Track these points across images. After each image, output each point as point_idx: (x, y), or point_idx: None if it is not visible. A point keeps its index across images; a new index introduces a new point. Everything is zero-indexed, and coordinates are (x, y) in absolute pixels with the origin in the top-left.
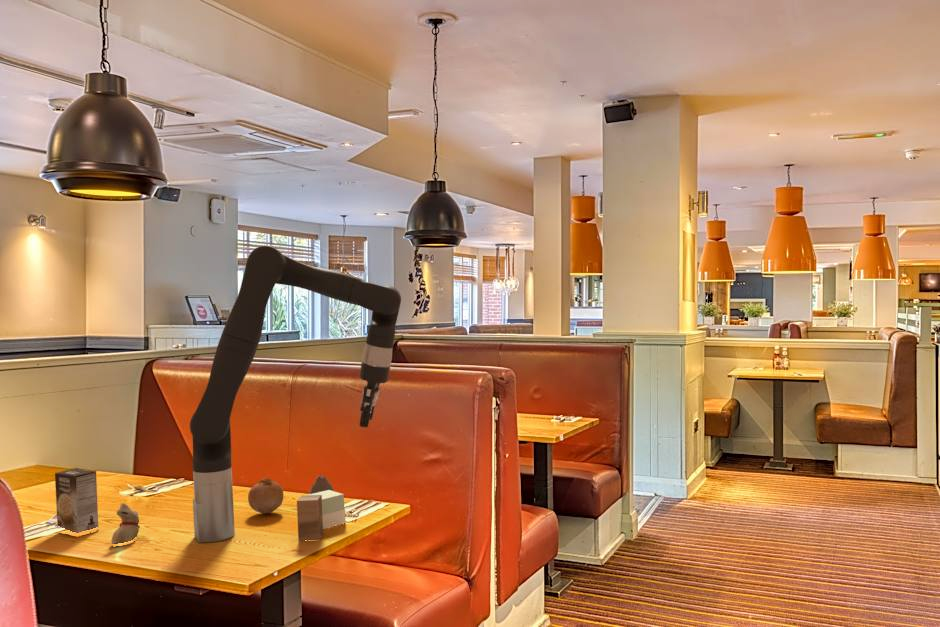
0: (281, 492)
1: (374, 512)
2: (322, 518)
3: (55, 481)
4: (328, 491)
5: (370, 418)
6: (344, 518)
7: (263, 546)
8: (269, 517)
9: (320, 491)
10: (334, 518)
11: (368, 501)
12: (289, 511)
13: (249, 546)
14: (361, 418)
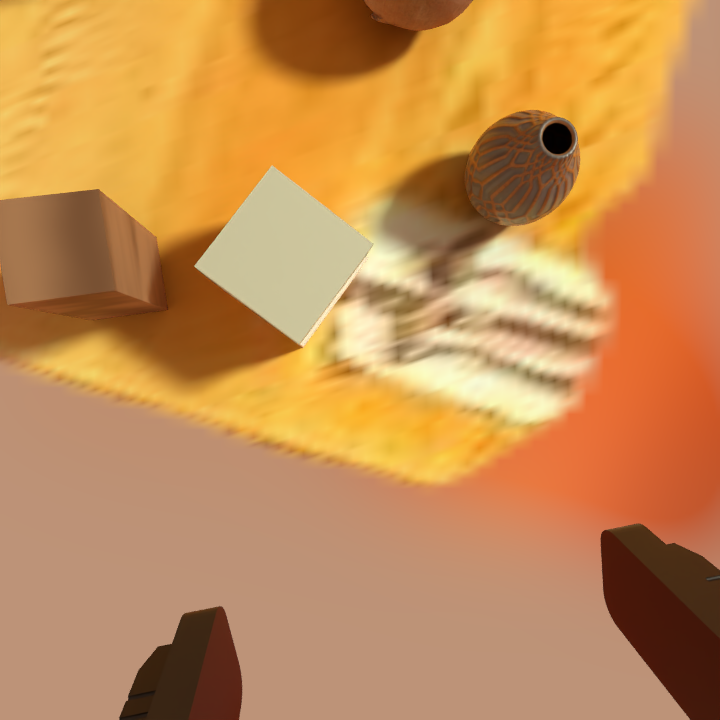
0: (426, 2)
1: (448, 411)
2: (146, 303)
3: None
4: (343, 252)
5: (615, 605)
6: (300, 345)
7: (14, 136)
8: (365, 23)
9: (484, 170)
10: None
11: (588, 341)
12: (445, 73)
13: (10, 83)
14: (160, 703)
